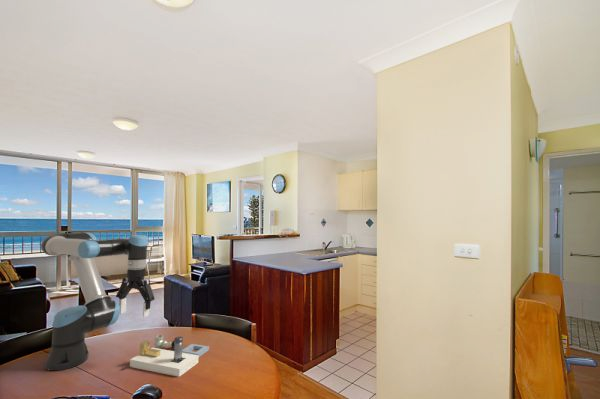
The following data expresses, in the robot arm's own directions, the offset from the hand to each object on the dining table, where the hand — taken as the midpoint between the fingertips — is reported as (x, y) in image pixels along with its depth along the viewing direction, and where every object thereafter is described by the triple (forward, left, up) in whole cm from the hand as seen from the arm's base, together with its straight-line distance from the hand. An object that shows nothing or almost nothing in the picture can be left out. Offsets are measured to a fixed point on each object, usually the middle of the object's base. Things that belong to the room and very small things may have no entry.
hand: (134, 314), depth 130 cm
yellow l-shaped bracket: (+11, 0, -16) cm, 19 cm away
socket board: (+19, 0, -20) cm, 28 cm away
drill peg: (+26, 0, -19) cm, 32 cm away
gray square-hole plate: (+24, +14, -20) cm, 34 cm away
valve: (+7, +13, -21) cm, 26 cm away
